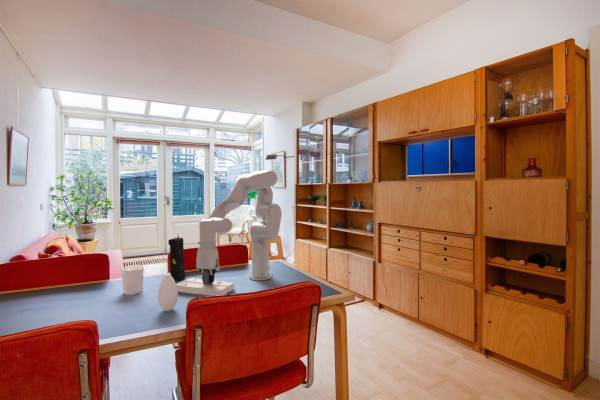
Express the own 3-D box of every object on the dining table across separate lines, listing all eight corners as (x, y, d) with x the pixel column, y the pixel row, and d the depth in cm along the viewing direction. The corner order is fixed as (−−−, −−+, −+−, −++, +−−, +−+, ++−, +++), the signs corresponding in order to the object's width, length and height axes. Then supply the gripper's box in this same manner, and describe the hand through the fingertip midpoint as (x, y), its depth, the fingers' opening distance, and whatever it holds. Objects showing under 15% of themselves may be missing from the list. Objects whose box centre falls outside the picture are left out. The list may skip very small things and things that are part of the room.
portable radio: (177, 282, 169) (177, 235, 168) (167, 281, 170) (166, 235, 169) (185, 277, 177) (185, 233, 175) (176, 277, 178) (175, 233, 177)
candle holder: (148, 290, 156) (148, 266, 155) (130, 296, 147) (130, 271, 147) (135, 287, 160) (134, 264, 160) (117, 293, 151) (116, 268, 151)
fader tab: (208, 288, 156) (207, 268, 155) (213, 288, 155) (213, 269, 154) (203, 290, 152) (203, 270, 151) (208, 291, 151) (208, 271, 150)
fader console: (189, 285, 164) (189, 277, 164) (234, 290, 156) (234, 282, 156) (174, 292, 152) (173, 284, 152) (221, 299, 144) (220, 289, 144)
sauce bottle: (157, 315, 126) (156, 271, 125) (158, 308, 134) (157, 266, 133) (178, 312, 130) (177, 269, 129) (177, 305, 137) (177, 264, 136)
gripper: (188, 245, 151) (189, 282, 152) (218, 247, 146) (218, 286, 147) (198, 242, 158) (198, 278, 159) (226, 244, 153) (227, 281, 154)
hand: (208, 281), depth 153 cm, fingers closed on fader tab, 3 cm apart
